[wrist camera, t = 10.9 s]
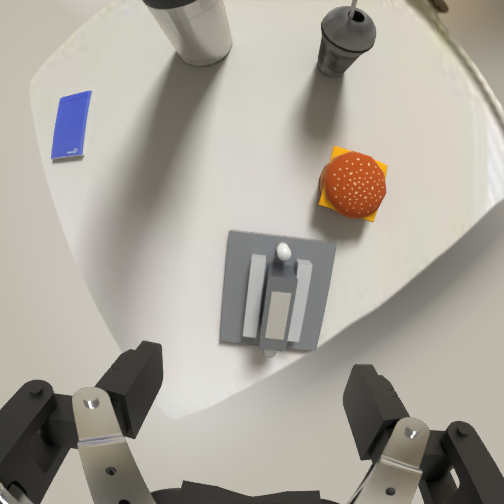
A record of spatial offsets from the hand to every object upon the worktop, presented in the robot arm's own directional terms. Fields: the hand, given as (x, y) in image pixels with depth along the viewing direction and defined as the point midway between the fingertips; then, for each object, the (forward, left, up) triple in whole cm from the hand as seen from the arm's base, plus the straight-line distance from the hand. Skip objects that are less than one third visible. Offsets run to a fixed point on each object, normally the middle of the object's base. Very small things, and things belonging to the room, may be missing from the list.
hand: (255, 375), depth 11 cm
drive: (+7, +3, -32) cm, 33 cm away
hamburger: (-11, +12, -34) cm, 37 cm away
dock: (+7, +3, -33) cm, 34 cm away
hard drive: (-18, -37, -34) cm, 54 cm away
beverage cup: (-31, +8, -33) cm, 46 cm away
